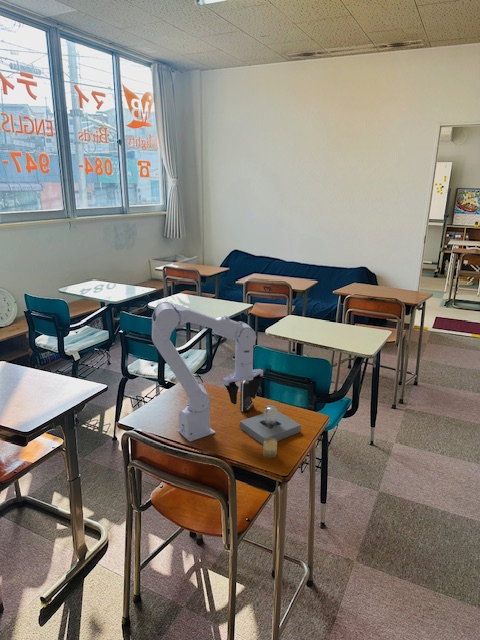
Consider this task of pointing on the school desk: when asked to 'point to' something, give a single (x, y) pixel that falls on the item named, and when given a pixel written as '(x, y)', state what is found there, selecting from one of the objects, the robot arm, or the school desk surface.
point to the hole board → (260, 432)
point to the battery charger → (245, 397)
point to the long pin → (270, 416)
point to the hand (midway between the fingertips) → (243, 400)
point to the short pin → (270, 447)
